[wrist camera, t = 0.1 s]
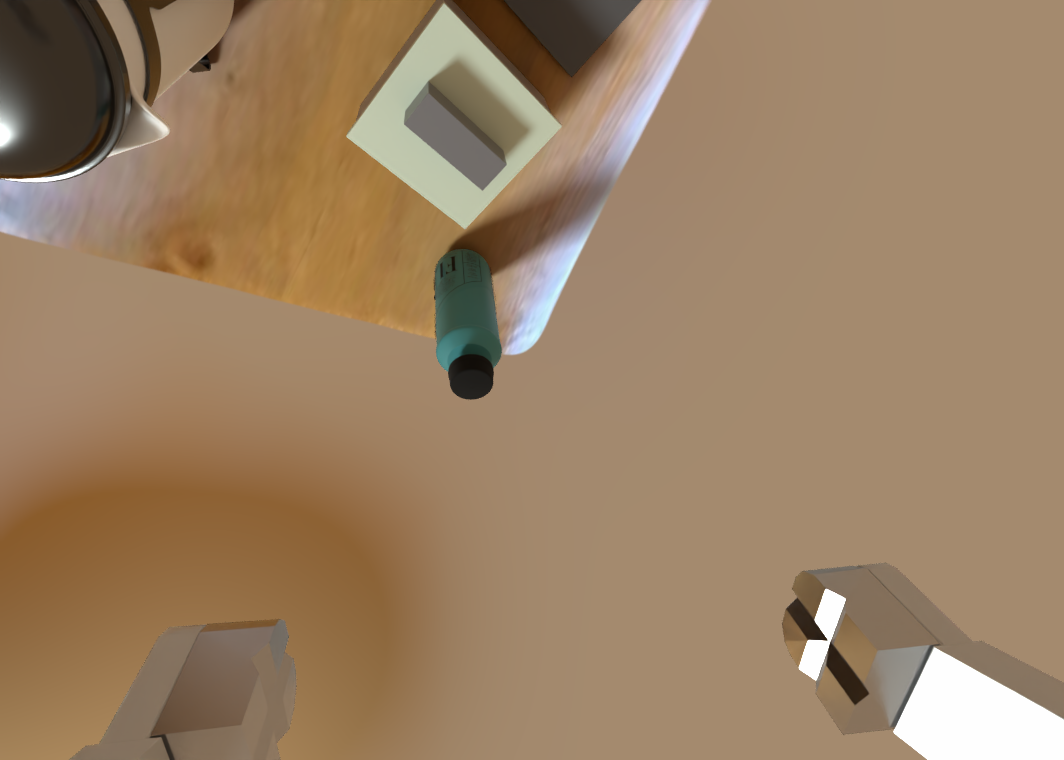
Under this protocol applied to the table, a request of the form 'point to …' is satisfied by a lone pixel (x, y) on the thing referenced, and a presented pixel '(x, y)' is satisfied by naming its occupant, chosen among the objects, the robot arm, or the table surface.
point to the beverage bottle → (466, 322)
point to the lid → (453, 120)
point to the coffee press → (93, 77)
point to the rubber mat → (572, 25)
